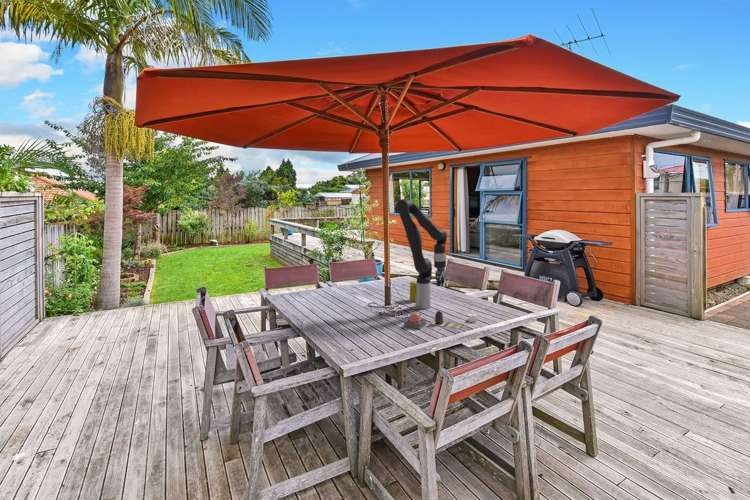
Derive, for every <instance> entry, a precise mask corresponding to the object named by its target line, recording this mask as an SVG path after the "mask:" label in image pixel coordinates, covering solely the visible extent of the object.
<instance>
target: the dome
mask: <svg viewBox="0 0 750 500" xmlns="http://www.w3.org/2000/svg"><path fill="white" fill-rule="evenodd" d="M409 318H410V322H414V323H420V322H421V319H422V317H421V315H420V314H419V313H418V312H412V313H411V314H410V316H409Z"/></svg>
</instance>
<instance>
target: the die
mask: <svg viewBox="0 0 750 500" xmlns="http://www.w3.org/2000/svg"><path fill="white" fill-rule="evenodd" d="M468 322H471V323H477V322H478V316H477V314H476V313H468Z"/></svg>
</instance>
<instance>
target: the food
mask: <svg viewBox="0 0 750 500" xmlns="http://www.w3.org/2000/svg"><path fill="white" fill-rule="evenodd" d="M416 293H417V280H411V281H410V283H409V301H410V302H416Z"/></svg>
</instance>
